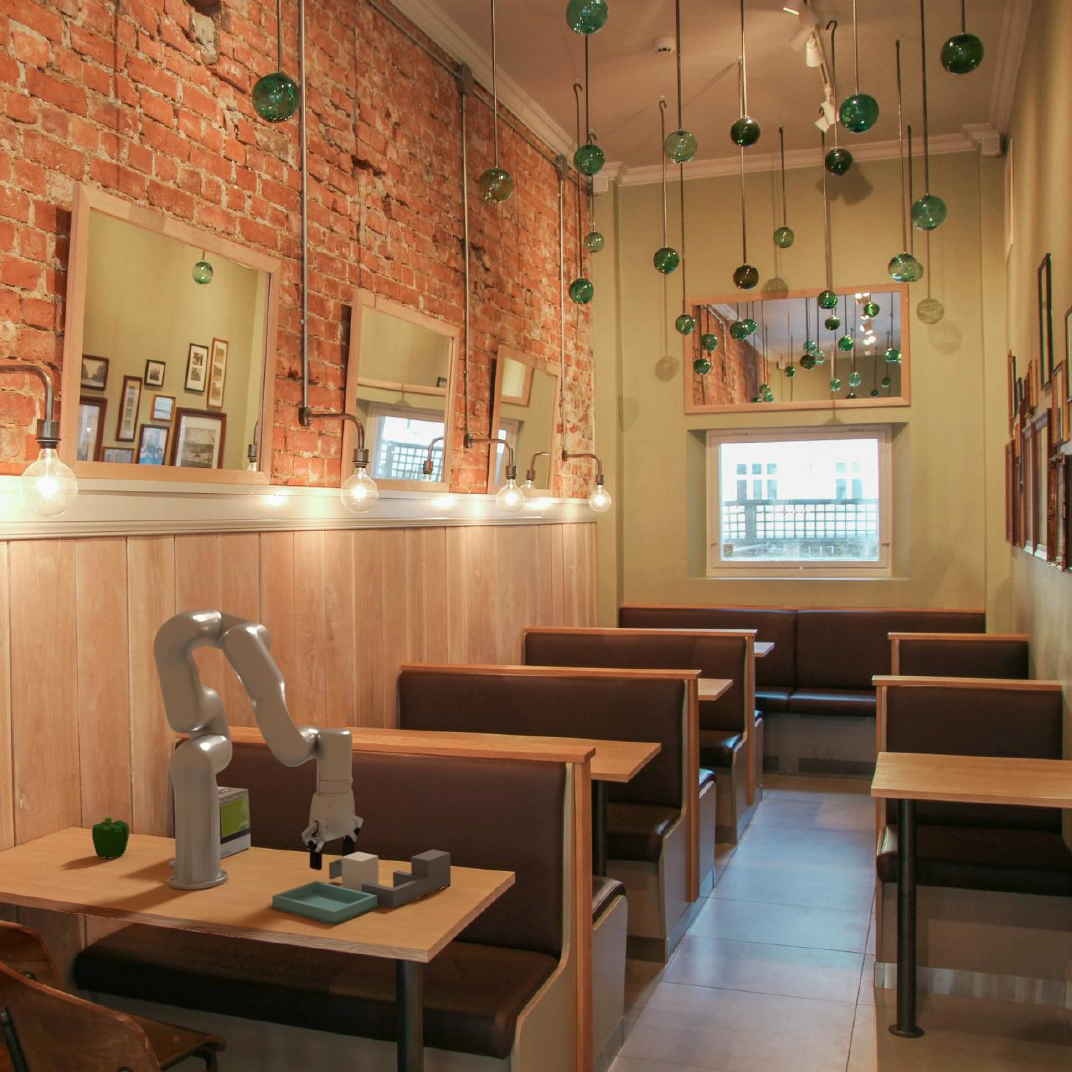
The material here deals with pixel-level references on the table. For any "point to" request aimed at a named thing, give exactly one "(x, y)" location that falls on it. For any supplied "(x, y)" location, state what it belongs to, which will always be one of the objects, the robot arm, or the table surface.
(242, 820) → the tea box
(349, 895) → the tray
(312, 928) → the table surface
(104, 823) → the bell pepper
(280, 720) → the robot arm
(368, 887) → the bay
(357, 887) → the t-handle cube
